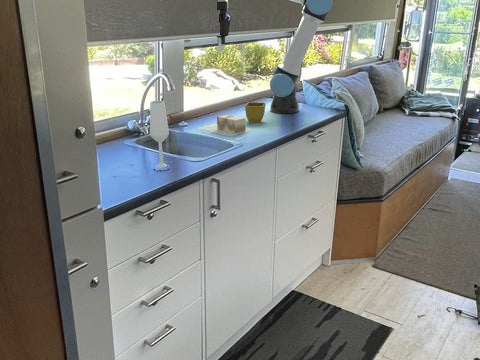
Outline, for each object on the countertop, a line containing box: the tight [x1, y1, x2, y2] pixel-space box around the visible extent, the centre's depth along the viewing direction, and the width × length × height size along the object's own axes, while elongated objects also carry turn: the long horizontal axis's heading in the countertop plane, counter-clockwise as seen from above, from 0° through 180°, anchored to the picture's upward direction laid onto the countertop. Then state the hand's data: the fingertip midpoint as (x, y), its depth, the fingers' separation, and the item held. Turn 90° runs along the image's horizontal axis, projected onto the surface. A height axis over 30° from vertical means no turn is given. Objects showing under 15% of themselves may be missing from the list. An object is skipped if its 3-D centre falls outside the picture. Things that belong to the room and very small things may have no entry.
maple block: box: [216, 114, 246, 135], centre depth 227 cm, size 6×6×12 cm
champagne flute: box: [149, 100, 170, 168], centre depth 176 cm, size 7×7×24 cm
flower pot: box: [244, 101, 266, 124], centre depth 243 cm, size 9×9×9 cm
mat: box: [195, 123, 255, 137], centre depth 231 cm, size 22×16×1 cm
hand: (221, 50), depth 251 cm, fingers closed
